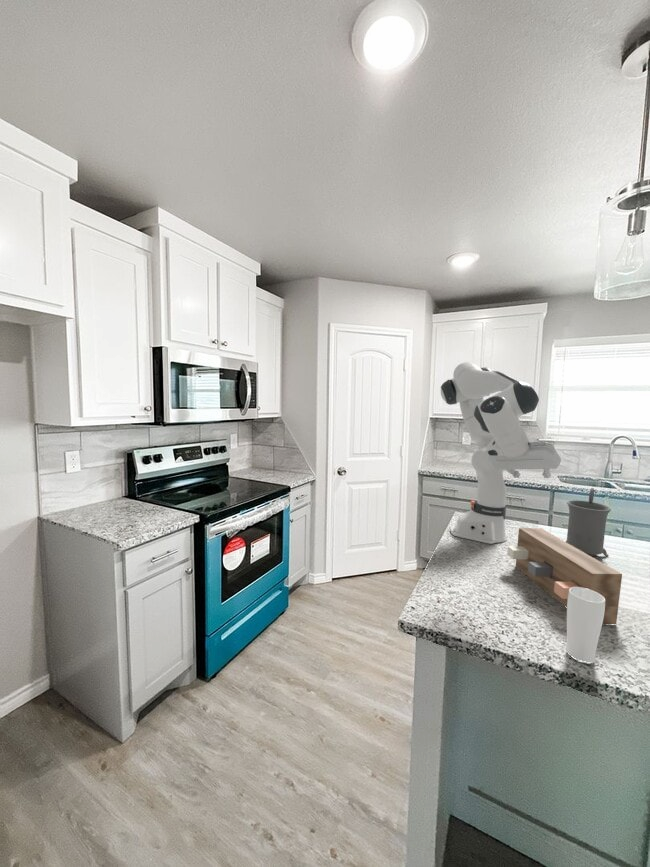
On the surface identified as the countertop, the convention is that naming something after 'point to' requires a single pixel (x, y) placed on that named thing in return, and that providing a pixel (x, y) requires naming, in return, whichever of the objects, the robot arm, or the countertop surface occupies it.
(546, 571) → the charcoal key
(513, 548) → the cream key
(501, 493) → the robot arm
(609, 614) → the console
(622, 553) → the countertop surface
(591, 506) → the grey footed pot
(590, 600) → the drinking glass
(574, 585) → the terracotta key
